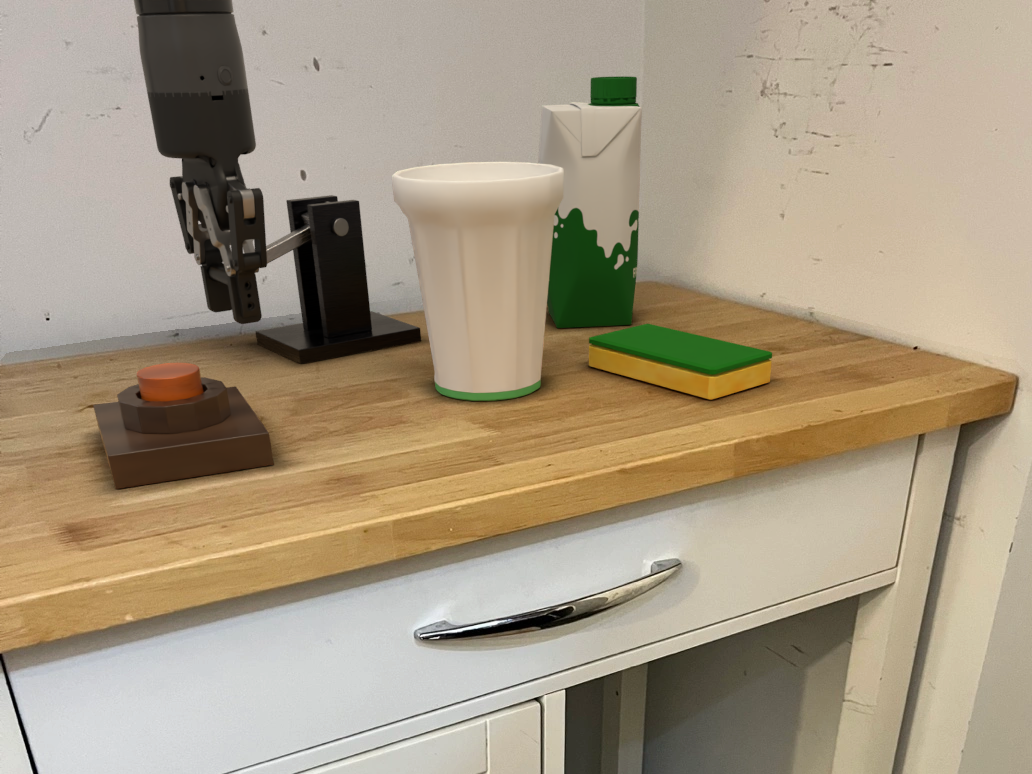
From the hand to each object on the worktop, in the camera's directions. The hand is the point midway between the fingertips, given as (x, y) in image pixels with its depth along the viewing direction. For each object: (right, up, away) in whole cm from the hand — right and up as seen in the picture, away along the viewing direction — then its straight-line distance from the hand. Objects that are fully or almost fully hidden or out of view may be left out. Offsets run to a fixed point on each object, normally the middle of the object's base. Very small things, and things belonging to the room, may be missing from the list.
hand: (234, 315), depth 92 cm
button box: (+1, -16, -18) cm, 24 cm away
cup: (+22, -8, -6) cm, 24 cm away
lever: (+4, +5, +1) cm, 6 cm away
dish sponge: (+37, -7, -4) cm, 38 cm away
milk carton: (+31, +4, +13) cm, 33 cm away
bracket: (+8, 0, +7) cm, 10 cm away
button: (+1, -13, -20) cm, 23 cm away
